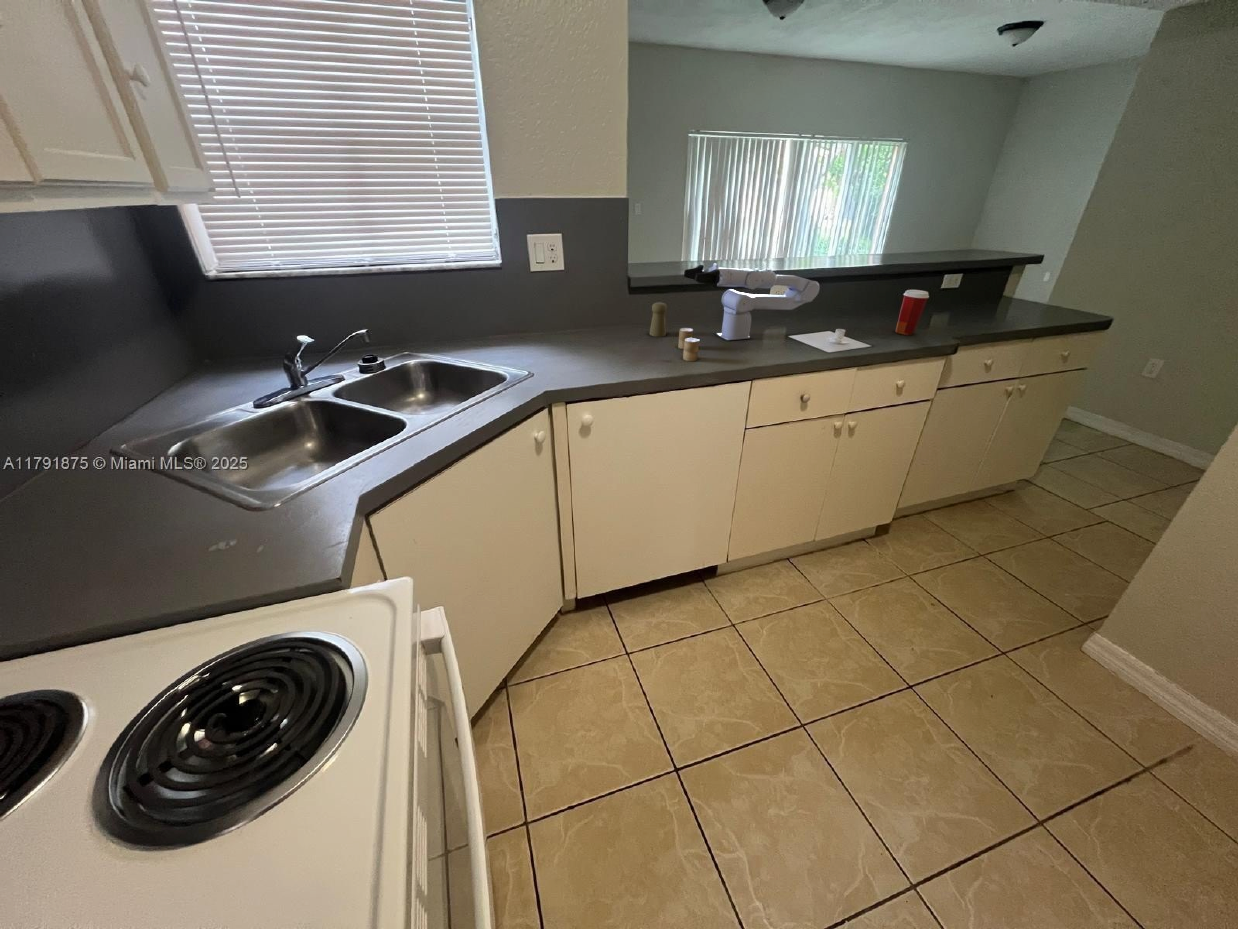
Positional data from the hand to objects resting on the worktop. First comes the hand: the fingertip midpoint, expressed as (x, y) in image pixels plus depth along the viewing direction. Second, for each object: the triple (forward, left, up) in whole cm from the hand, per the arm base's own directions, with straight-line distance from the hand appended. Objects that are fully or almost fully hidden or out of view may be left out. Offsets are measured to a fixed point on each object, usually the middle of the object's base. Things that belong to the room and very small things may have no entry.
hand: (690, 275), depth 157 cm
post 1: (+3, +6, -22) cm, 23 cm away
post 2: (+7, +17, -22) cm, 28 cm away
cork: (+5, -11, -22) cm, 25 cm away
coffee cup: (-86, +15, -22) cm, 90 cm away
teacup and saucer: (-50, +15, -22) cm, 57 cm away
